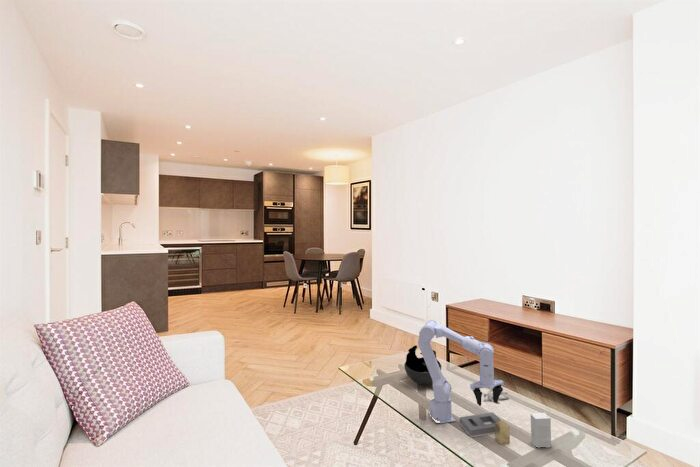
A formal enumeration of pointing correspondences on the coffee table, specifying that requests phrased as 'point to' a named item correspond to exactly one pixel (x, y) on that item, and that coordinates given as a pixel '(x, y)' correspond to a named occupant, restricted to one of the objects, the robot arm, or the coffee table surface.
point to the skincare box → (541, 429)
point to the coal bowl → (418, 367)
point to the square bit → (502, 432)
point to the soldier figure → (490, 396)
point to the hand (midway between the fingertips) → (487, 403)
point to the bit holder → (479, 424)
